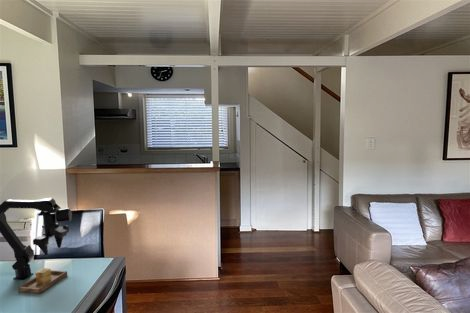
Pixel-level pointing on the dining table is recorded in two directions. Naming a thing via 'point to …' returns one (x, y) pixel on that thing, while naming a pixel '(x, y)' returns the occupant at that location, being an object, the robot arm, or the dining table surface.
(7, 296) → the dining table surface
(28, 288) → the walnut tray
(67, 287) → the dining table surface
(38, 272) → the ochre block
